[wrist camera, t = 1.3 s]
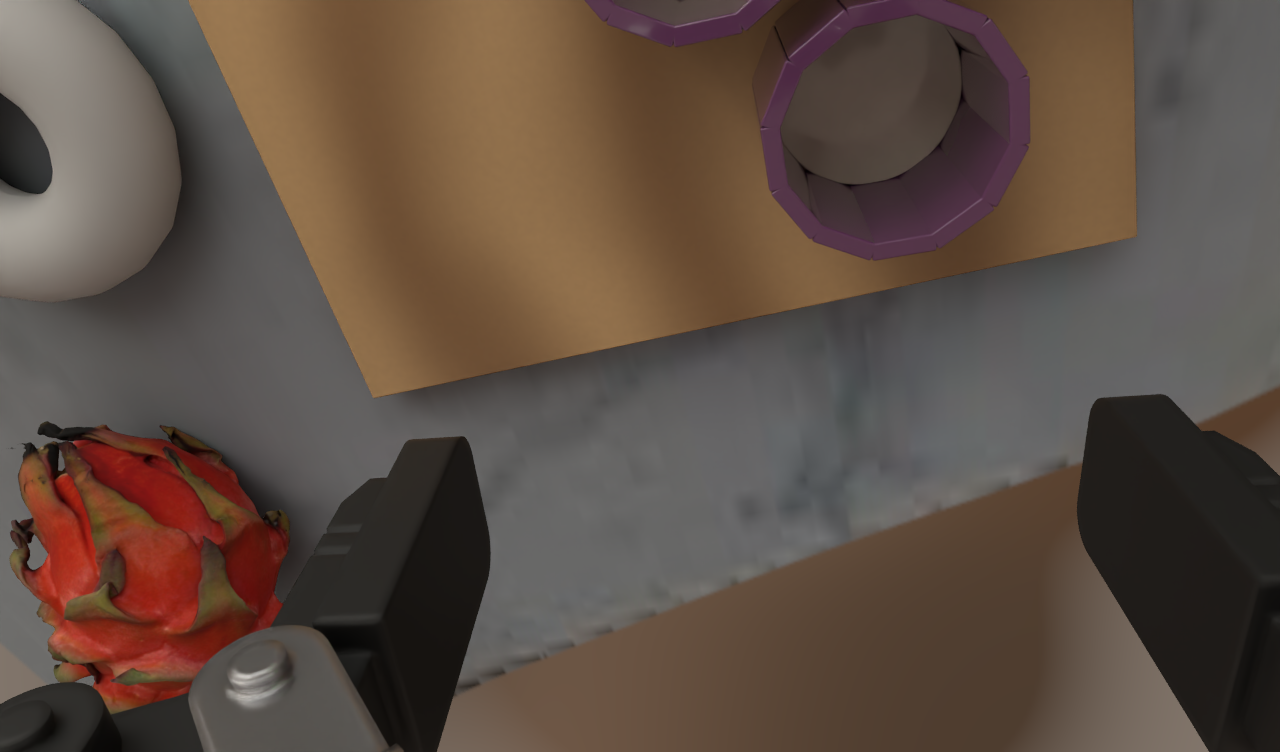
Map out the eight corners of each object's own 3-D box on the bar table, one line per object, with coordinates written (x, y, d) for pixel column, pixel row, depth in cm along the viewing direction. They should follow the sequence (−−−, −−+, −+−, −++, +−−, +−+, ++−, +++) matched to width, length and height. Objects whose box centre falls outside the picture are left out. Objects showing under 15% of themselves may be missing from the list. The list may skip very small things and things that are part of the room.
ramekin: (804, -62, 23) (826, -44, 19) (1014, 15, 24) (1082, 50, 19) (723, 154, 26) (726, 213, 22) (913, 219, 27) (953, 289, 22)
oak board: (1096, -572, 20) (1123, -603, 18) (1117, 219, 28) (1138, 237, 26) (118, -215, 24) (84, -220, 23) (386, 377, 32) (373, 399, 31)
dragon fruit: (292, 607, 40) (158, 355, 36) (390, 649, 34) (240, 351, 30) (92, 743, 35) (-89, 465, 31) (164, 822, 28) (-51, 487, 25)
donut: (200, 308, 31) (207, 7, 26) (146, 357, 28) (143, 29, 23) (-100, 228, 31) (-151, -97, 26) (-188, 270, 28) (-265, -89, 23)
